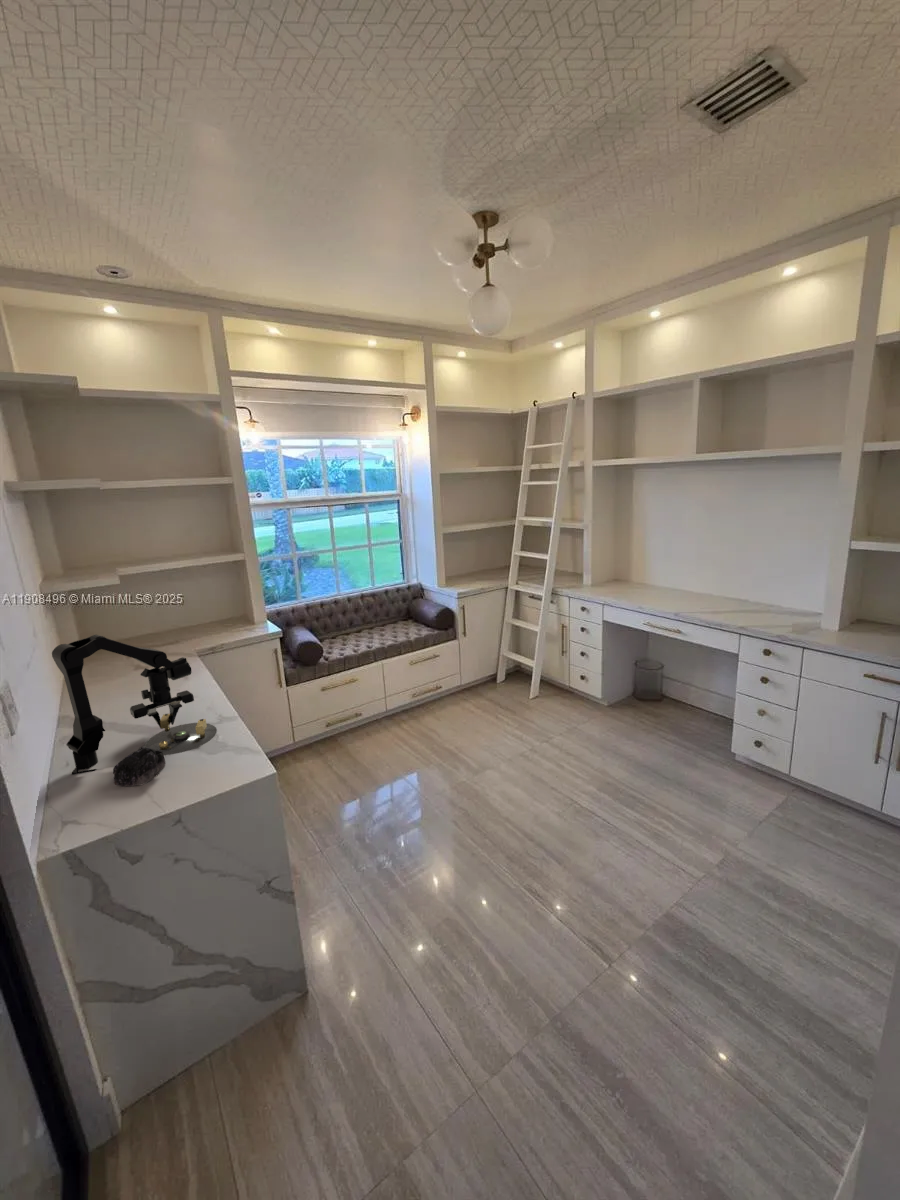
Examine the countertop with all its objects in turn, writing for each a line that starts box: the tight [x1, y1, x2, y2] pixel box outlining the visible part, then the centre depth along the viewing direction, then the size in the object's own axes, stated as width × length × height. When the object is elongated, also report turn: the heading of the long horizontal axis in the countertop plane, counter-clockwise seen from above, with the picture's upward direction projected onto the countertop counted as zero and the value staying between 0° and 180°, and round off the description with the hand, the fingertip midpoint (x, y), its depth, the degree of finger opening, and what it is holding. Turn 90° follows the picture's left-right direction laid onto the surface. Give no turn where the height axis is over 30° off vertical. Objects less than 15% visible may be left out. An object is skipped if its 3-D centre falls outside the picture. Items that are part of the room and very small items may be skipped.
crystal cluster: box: [112, 746, 167, 787], centre depth 150 cm, size 13×14×10 cm
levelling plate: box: [144, 722, 218, 756], centre depth 171 cm, size 22×22×3 cm
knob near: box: [195, 718, 207, 738], centre depth 171 cm, size 6×2×5 cm, turn 16°
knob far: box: [160, 713, 171, 732], centre depth 176 cm, size 6×2×5 cm, turn 18°
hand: (166, 726), depth 176 cm, fingers closed on knob far, 3 cm apart
